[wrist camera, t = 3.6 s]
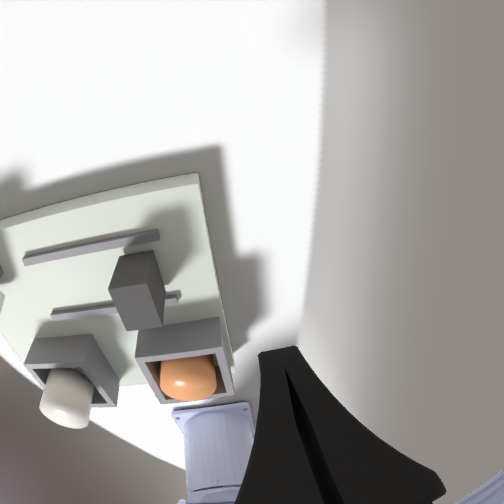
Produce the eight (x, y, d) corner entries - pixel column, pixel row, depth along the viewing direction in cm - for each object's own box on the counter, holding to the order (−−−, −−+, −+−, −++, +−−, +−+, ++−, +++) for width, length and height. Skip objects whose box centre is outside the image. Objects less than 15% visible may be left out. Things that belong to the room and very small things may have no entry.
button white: (101, 395, 20) (97, 429, 17) (63, 395, 19) (56, 427, 17) (80, 365, 18) (71, 401, 15) (40, 366, 17) (30, 400, 15)
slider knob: (165, 291, 18) (162, 326, 15) (133, 295, 18) (126, 331, 15) (153, 249, 16) (146, 283, 14) (119, 256, 16) (107, 289, 14)
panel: (232, 353, 25) (240, 399, 21) (47, 371, 23) (35, 410, 19) (198, 172, 17) (198, 203, 13) (-34, 231, 15) (-67, 266, 11)
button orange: (217, 363, 22) (220, 397, 19) (169, 370, 22) (169, 403, 19) (207, 330, 20) (210, 365, 18) (155, 337, 20) (152, 373, 17)
